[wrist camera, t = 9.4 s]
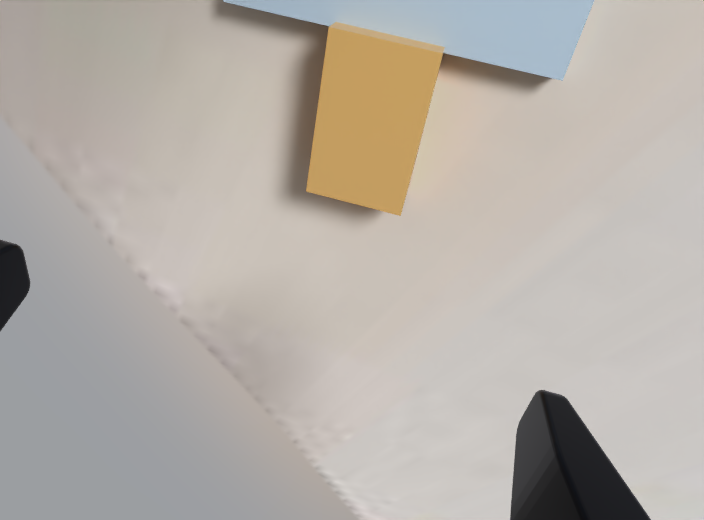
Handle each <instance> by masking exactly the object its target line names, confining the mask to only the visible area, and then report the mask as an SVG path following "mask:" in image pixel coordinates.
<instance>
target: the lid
mask: <svg viewBox="0 0 704 520" xmlns="http://www.w3.org/2000/svg"><path fill="white" fill-rule="evenodd" d="M223 2H227V3H231V4H235V5H240V6H244V7H248V8H253V9H257V10H261V11H266V12H270V13H274V14H278V15H283V16H287V17H291V18H296V19H300V20H304V21H308V22H313V23H317V24H321V25H326V26H329V29H328V36H327V43H326V50H325V58H324V65H323V72H322V79H321V86H320V94H319V101H318V108H317V115H316V122H315V130H314V137H313V144H312V151H311V159H310V166H309V173H308V180H307V187H306V192H310V193H314V194H318V195H322V196H326V197H330V198H333V199H337V200H341V201H345V202H349V203H353V204H357V205H361V206H364V207H368V208H372V209H376V210H380V211H384V212H388V213H392V214H396V215H399V216H401V212H402V209H403V205H404V202H405V198H406V194H407V191H408V187H409V183H410V179H411V175H412V171H413V168H414V164H415V160H416V156H417V152H418V149H419V145H420V141H421V137H422V133H423V129H424V126H425V122H426V118H427V114H428V110H429V106H430V103H431V99H432V95H433V91H434V87H435V83H436V80H437V76H438V72H439V68H440V64H441V60H442V57H443V53H446V54H450V55H454V56H459V57H463V58H467V59H472V60H476V61H480V62H485V63H489V64H493V65H497V66H502V67H506V68H510V69H515V70H519V71H523V72H528V73H532V74H536V75H540V76H545V77H549V78H553V79H558V80H562V81H563V78H564V75H565V73H566V70H567V68H568V65H569V63H570V60H571V58H572V55H573V53H574V50H575V48H576V45H577V43H578V40H579V38H580V35H581V33H582V30H583V27H584V25H585V22H586V20H587V17H588V15H589V12H590V10H591V7H592V5H593V2H594V0H223Z"/></svg>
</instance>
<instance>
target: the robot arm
mask: <svg viewBox="0 0 704 520" xmlns="http://www.w3.org/2000/svg"><path fill="white" fill-rule="evenodd" d="M29 288H30V279H29V274H28V270H27V266H26V262H25V257H24V253H23V250H22V249H21V247H20V246H18V245H17V244H13V243H9V242H6V241H3V240H0V331H1V330H2V328H3V327H4V326H5V324H6V323H7V321H8V320H9V319H10V317H11V316H12V314H13V313H14V312H15V311H16V309H17V308H18V306H19V305H20V304H21V302H22V301H23V300H24V298H25V297H26V295H27V293H28V291H29ZM510 520H651V519H650V518H649V516H648V515H647V513H646V512H645V510H644V509H643V508H642V506H641V505H640V503H639V502H638V500H637V499H636V497H635V496H634V495H633V493H632V492H631V490H630V489H629V487H628V486H627V484H626V483H625V482H624V480H623V479H622V477H621V476H620V474H619V473H618V472H617V470H616V469H615V467H614V466H613V464H612V463H611V461H610V460H609V459H608V457H607V456H606V454H605V453H604V451H603V450H602V448H601V447H600V446H599V444H598V443H597V441H596V440H595V438H594V437H593V436H592V434H591V433H590V431H589V430H588V428H587V427H586V425H585V424H584V423H583V421H582V420H581V418H580V417H579V415H578V414H577V412H576V411H575V410H574V408H573V407H572V405H571V404H570V402H569V401H568V400H567V399H566V398H565V397H564V396H562V395H559V394H556V393H552V392H549V391H545V390H539V391H538V392H536V393H535V395H534V396H533V398H532V400H531V402H530V404H529V405H528V407H527V409H526V411H525V413H524V414H523V416H522V418H521V420H520V422H519V425H518V428H517V434H516V446H515V460H514V474H513V487H512V501H511V517H510Z"/></svg>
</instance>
